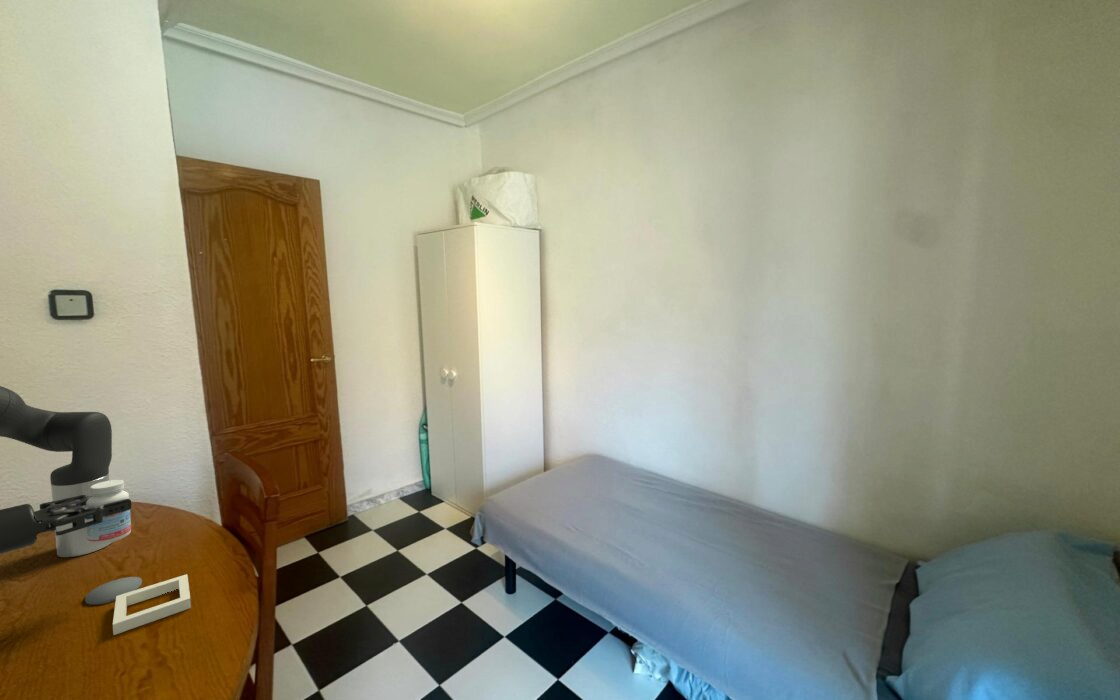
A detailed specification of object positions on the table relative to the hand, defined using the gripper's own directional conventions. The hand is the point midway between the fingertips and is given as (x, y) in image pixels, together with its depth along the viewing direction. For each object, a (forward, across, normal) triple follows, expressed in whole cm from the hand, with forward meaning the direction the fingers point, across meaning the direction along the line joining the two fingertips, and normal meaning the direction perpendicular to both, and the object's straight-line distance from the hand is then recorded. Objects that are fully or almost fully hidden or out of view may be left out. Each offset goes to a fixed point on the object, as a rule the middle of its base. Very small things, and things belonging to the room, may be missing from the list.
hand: (124, 499), depth 87 cm
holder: (0, -13, +19) cm, 22 cm away
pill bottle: (-2, 0, +7) cm, 8 cm away
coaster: (-2, 0, +19) cm, 19 cm away
